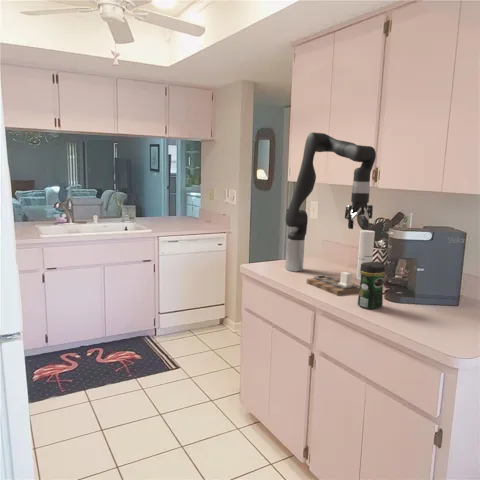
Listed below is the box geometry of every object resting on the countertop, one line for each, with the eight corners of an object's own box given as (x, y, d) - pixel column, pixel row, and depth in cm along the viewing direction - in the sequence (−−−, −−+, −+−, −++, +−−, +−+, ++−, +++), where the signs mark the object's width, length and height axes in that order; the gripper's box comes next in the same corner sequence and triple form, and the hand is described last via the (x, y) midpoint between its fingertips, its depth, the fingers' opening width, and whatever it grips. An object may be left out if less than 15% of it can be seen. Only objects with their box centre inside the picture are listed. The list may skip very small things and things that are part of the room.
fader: (337, 285, 188) (338, 272, 187) (344, 284, 190) (345, 271, 189) (345, 288, 184) (346, 274, 183) (352, 287, 186) (353, 273, 185)
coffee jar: (370, 302, 172) (374, 259, 169) (385, 307, 165) (389, 263, 162) (353, 304, 168) (357, 260, 165) (368, 310, 161) (372, 265, 158)
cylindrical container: (371, 281, 206) (375, 232, 202) (356, 280, 208) (360, 231, 204) (369, 277, 213) (373, 230, 209) (355, 276, 215) (359, 229, 211)
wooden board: (306, 283, 199) (306, 277, 199) (331, 279, 207) (332, 274, 206) (337, 295, 180) (337, 289, 180) (363, 291, 188) (364, 285, 187)
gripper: (366, 191, 186) (363, 226, 189) (342, 191, 180) (339, 227, 182) (378, 192, 180) (375, 228, 183) (354, 192, 173) (351, 230, 176)
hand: (357, 228), depth 182 cm, fingers open, 8 cm apart
